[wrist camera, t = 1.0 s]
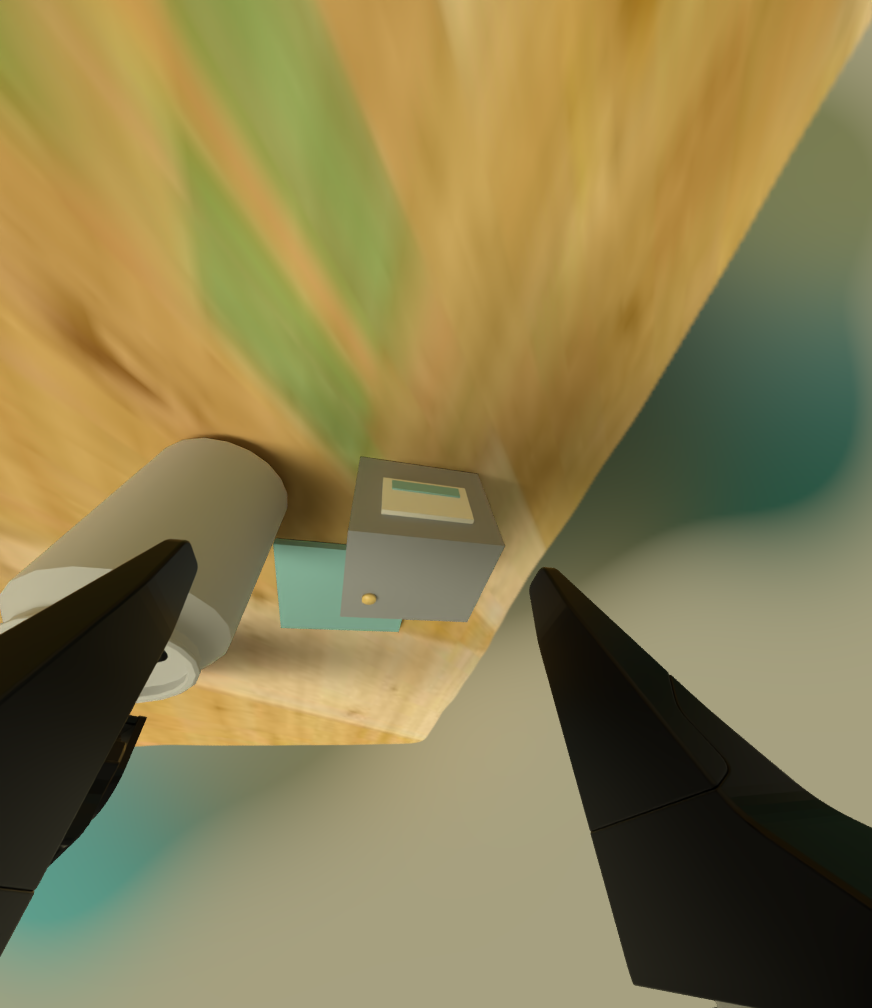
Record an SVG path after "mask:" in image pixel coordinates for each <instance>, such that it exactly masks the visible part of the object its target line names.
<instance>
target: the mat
mask: <svg viewBox="0 0 872 1008" xmlns="http://www.w3.org/2000/svg"><path fill="white" fill-rule="evenodd" d="M273 547H274V557H275V568H276V579H277V590H278V600H279V611H280V622H281V628H299V629H329V630H359V631H389V632H399V628H400V625H401V622H402V619H382V618H358V617H340V611H341V601H342V590H343V579H344V569H345V558H346V547H347V545H345V544H334V543H323V542H312V541H300V540H289V539H278V538H276V539H275V541H274V543H273Z"/></svg>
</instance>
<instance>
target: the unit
mask: <svg viewBox="0 0 872 1008" xmlns="http://www.w3.org/2000/svg"><path fill="white" fill-rule="evenodd" d="M504 547H505V545H504V542H503V539H502V537H501V534H500V531H499V529H498V526H497V523H496V521H495V518H494V515H493V513H492V510H491V507H490V505H489V502H488V500H487V497H486V494H485V492H484V489H483V486H482V484H481V481H480V478H479V476H478V474H474V473H468V472H461V471H454V470H447V469H441V468H434V467H427V466H420V465H414V464H407V463H400V462H394V461H387V460H380V459H373V458H367V457H360V462H359V468H358V474H357V480H356V486H355V492H354V498H353V504H352V510H351V516H350V522H349V528H348V537H347V547H346V558H345V569H344V579H343V590H342V601H341V611H340V617H358V618H382V619H406V620H430V621H454V622H467V621H468V619H469V617H470V615H471V613H472V611H473V609H474V607H475V605H476V603H477V601H478V599H479V597H480V595H481V593H482V591H483V589H484V587H485V585H486V583H487V581H488V579H489V577H490V575H491V573H492V571H493V569H494V567H495V565H496V563H497V561H498V559H499V557H500V555H501V553H502V551H503V549H504Z"/></svg>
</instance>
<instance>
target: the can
mask: <svg viewBox="0 0 872 1008" xmlns="http://www.w3.org/2000/svg"><path fill="white" fill-rule="evenodd" d="M287 508H288V504H287V492H286V489H285V487H284V485H283V482H282V480H281V478H280V477H279V476H278V475H277V473H276V472H275V471H274V470H273V469H272V468H271V466H270V465H269V464H268V463H267V462H265V461H264V460H262V459H261V458H259V457H258V456H257V455H255V454H254V453H252V452H251V451H249V450H247V449H244V448H242V447H240V446H237V445H235V444H232V443H230V442H227V441H221V440H215V439H209V438H197V439H187V440H182V441H179V442H177V443H175V444H173V445H171V446H169V447H166V448H165V449H164V450H163V451H162V452H160V453H159V454H158V455H157V456H156V457H155V458H153V459H152V460H151V461H150V462H149V463H147V464H146V465H145V466H144V467H143V468H142V469H140V470H139V471H138V472H137V473H136V474H135V475H133V476H132V477H131V478H130V479H129V480H128V481H126V482H125V483H124V484H123V485H122V486H121V487H119V488H118V489H117V490H116V491H115V492H114V493H112V494H111V495H110V496H109V497H108V498H107V499H105V500H104V501H103V502H102V503H101V504H100V505H98V506H97V507H96V508H95V509H94V510H93V511H91V512H90V513H89V514H88V515H87V516H86V517H84V518H83V519H82V520H81V521H80V522H78V523H77V524H76V525H75V526H74V527H73V528H71V529H70V530H69V531H68V532H67V533H66V534H64V535H63V536H62V537H61V538H60V539H59V540H57V541H56V542H55V543H54V544H53V545H52V546H50V547H49V548H48V549H47V550H46V551H45V552H43V553H42V554H41V555H40V556H39V557H38V558H36V559H35V560H34V561H33V562H32V563H31V564H29V565H28V566H27V567H26V568H25V569H24V570H22V571H21V572H20V573H19V574H18V575H16V576H15V577H14V578H13V579H12V580H11V581H9V583H8V584H7V586H6V587H5V588H4V590H3V591H2V593H1V594H0V610H1V615H2V620H3V623H1V624H0V634H2V633H3V632H5V631H7V630H9V629H10V628H12V627H14V626H16V625H17V624H19V623H21V622H22V621H24V620H26V619H28V618H29V617H31V616H33V615H35V614H36V613H38V612H40V611H42V610H43V609H45V608H47V607H49V606H50V605H52V604H54V603H56V602H57V601H59V600H61V599H63V598H64V597H66V596H68V595H70V594H71V593H73V592H75V591H77V590H78V589H80V588H82V587H84V586H85V585H87V584H89V583H91V582H92V581H94V580H96V579H97V578H99V577H101V576H103V575H104V574H106V573H108V572H110V571H111V570H113V569H115V568H117V567H118V566H120V565H122V564H124V563H125V562H127V561H129V560H131V559H132V558H134V557H136V556H138V555H139V554H141V553H143V552H145V551H146V550H148V549H150V548H152V547H153V546H155V545H157V544H159V543H160V542H162V541H164V540H166V539H181V540H188V541H189V542H190V543H191V545H192V548H193V551H194V554H195V557H196V560H197V563H198V570H197V573H196V576H195V579H194V581H193V584H192V586H191V589H190V591H189V594H188V596H187V599H186V601H185V604H184V606H183V609H182V611H181V614H180V616H179V619H178V622H177V624H176V626H175V629H174V631H173V633H172V635H171V637H170V639H169V641H168V643H167V645H166V647H165V649H164V651H163V653H162V655H161V656H160V658H159V660H158V662H157V664H156V666H155V668H154V670H153V671H152V673H151V675H150V677H149V679H148V681H147V683H146V685H145V686H144V688H143V690H142V692H141V694H140V696H139V698H138V699H137V701H136V703H141V702H149V701H156V700H163V699H166V698H169V697H172V696H175V695H178V694H181V693H183V692H184V691H186V690H187V689H189V688H190V687H192V686H193V685H195V684H196V681H197V679H198V677H199V674H200V672H201V669H203V668H205V667H207V666H208V665H210V664H212V663H213V662H215V661H216V660H218V659H219V658H220V657H222V656H223V655H225V654H226V652H227V650H228V648H229V646H230V644H231V641H232V639H233V637H234V634H235V632H236V630H237V627H238V625H239V622H240V620H241V618H242V615H243V613H244V610H245V608H246V606H247V603H248V601H249V599H250V596H251V594H252V591H253V589H254V587H255V584H256V582H257V579H258V577H259V575H260V572H261V570H262V567H263V565H264V563H265V560H266V558H267V556H268V553H269V551H270V548H271V546H272V544H273V541H274V539H275V536H276V534H277V532H278V529H279V527H280V524H281V522H282V520H283V517H284V515H285V513H286V510H287Z"/></svg>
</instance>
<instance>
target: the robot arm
mask: <svg viewBox="0 0 872 1008" xmlns="http://www.w3.org/2000/svg"><path fill="white" fill-rule="evenodd" d="M197 570H198V563H197V560H196V557H195V554H194V551H193V548H192V545H191V543H190V542H189V541H188V540H181V539H166V540H164V541H162V542H160V543H159V544H157V545H155V546H153V547H152V548H150V549H148V550H146V551H145V552H143V553H141V554H139V555H138V556H136V557H134V558H132V559H131V560H129V561H127V562H125V563H124V564H122V565H120V566H118V567H117V568H115V569H113V570H111V571H110V572H108V573H106V574H104V575H103V576H101V577H99V578H97V579H96V580H94V581H92V582H91V583H89V584H87V585H85V586H84V587H82V588H80V589H78V590H77V591H75V592H73V593H71V594H70V595H68V596H66V597H64V598H63V599H61V600H59V601H57V602H56V603H54V604H52V605H50V606H49V607H47V608H45V609H43V610H42V611H40V612H38V613H36V614H35V615H33V616H31V617H29V618H28V619H26V620H24V621H22V622H21V623H19V624H17V625H16V626H14V627H12V628H10V629H9V630H7V631H5V632H3V633H2V634H0V956H1V954H2V953H3V951H4V949H5V947H6V945H7V943H8V941H9V939H10V938H11V936H12V934H13V932H14V930H15V928H16V926H17V925H18V923H19V921H20V919H21V917H22V915H23V913H24V911H25V910H26V908H27V906H28V904H29V902H30V900H31V898H32V896H33V895H34V891H33V890H35V889H36V888H37V886H38V885H39V883H40V881H41V879H42V877H43V875H44V873H45V872H46V869H47V868H48V867H49V866H50V865H51V864H52V863H53V862H54V861H55V860H56V859H57V858H58V857H59V856H60V855H61V854H62V853H63V852H64V851H65V850H66V849H67V848H68V847H69V846H70V845H71V844H72V843H73V842H74V841H75V840H76V839H78V838H79V837H80V835H81V834H82V833H83V832H84V830H85V829H86V827H87V826H88V825H89V823H90V822H91V820H92V819H93V818H94V817H95V816H96V815H97V814H98V813H99V812H100V811H101V809H102V808H103V807H104V805H105V804H106V802H107V801H108V799H109V798H110V796H111V794H112V793H113V791H114V789H115V788H116V786H117V784H118V782H119V780H120V778H121V777H122V774H123V772H124V770H125V768H126V765H127V763H128V761H129V758H130V756H131V754H132V751H133V749H134V747H135V744H136V742H137V740H138V737H139V735H140V733H141V730H142V728H143V726H144V723H145V721H146V718H147V717H144V716H138V717H137V716H132V715H129V714H130V713H131V711H132V709H133V707H134V705H135V703H136V701H137V699H138V698H139V696H140V694H141V692H142V690H143V688H144V686H145V685H146V683H147V681H148V679H149V677H150V675H151V673H152V671H153V670H154V668H155V666H156V664H157V662H158V660H159V658H160V656H161V655H162V653H163V651H164V649H165V647H166V645H167V643H168V641H169V639H170V637H171V635H172V633H173V631H174V629H175V626H176V624H177V622H178V619H179V616H180V614H181V611H182V609H183V606H184V604H185V601H186V599H187V596H188V594H189V591H190V589H191V586H192V584H193V581H194V579H195V576H196V573H197ZM529 592H530V599H531V605H532V611H533V617H534V622H535V628H536V634H537V639H538V644H539V648H540V652H541V655H542V659H543V663H544V666H545V670H546V674H547V677H548V680H549V684H550V688H551V691H552V695H553V699H554V702H555V706H556V710H557V713H558V717H559V720H560V724H561V727H562V731H563V735H564V738H565V742H566V746H567V749H568V753H569V756H570V760H571V764H572V767H573V771H574V775H575V778H576V782H577V785H578V789H579V793H580V796H581V800H582V804H583V807H584V811H585V814H586V818H587V821H588V825H589V829H590V831H591V837H592V840H593V844H594V848H595V851H596V855H597V859H598V862H599V866H600V869H601V873H602V877H603V880H604V884H605V887H606V891H607V895H608V898H609V902H610V905H611V909H612V913H613V916H614V920H615V923H616V927H617V930H618V934H619V938H620V942H621V945H622V948H623V952H624V956H625V959H626V963H627V967H628V970H629V973H630V976H631V979H632V982H633V984H634V985H636V986H641V987H647V988H651V989H657V990H662V991H667V992H672V993H678V994H683V995H688V996H693V997H699V998H704V999H709V1000H714V1001H715V1002H716V1004H717V1007H714V1008H872V828H871V827H869V826H867V825H865V824H863V823H861V822H859V821H857V820H854V819H852V818H851V817H849V816H847V815H844V814H843V813H841V812H839V811H837V810H835V809H834V808H832V807H830V806H829V805H827V804H825V803H824V802H822V801H821V800H819V799H818V798H816V797H815V796H813V795H812V794H810V793H809V792H808V791H806V790H805V789H804V788H802V787H801V786H800V785H799V784H797V783H796V782H795V781H794V780H792V779H791V778H790V777H789V776H788V775H786V774H785V773H784V772H783V771H782V770H780V769H779V768H778V767H777V766H776V765H774V764H773V763H772V762H771V761H769V760H768V759H767V758H766V757H765V756H764V755H762V754H761V753H760V752H759V751H758V750H756V749H755V748H754V747H753V746H752V745H750V744H749V743H748V742H747V741H746V740H744V739H743V738H742V737H741V736H740V735H739V734H737V733H736V732H735V731H734V730H733V729H731V728H730V727H729V726H728V725H727V724H725V723H724V722H723V721H722V720H721V719H720V718H718V717H717V716H716V715H715V714H714V713H713V712H711V711H710V710H709V709H708V708H707V707H706V706H705V705H704V704H702V703H701V702H700V701H699V700H698V699H697V698H696V697H695V696H693V695H692V694H691V693H690V692H689V691H688V690H687V689H686V688H685V687H684V686H683V685H681V684H680V683H679V682H678V681H677V680H676V679H675V678H674V677H673V676H672V675H669V674H668V672H667V671H666V670H665V669H664V668H663V667H662V666H661V665H660V664H658V662H657V661H655V660H654V659H653V658H652V657H651V656H650V655H649V654H648V653H647V652H646V651H644V649H643V648H641V647H640V646H639V645H638V644H637V643H636V642H635V641H634V640H633V639H632V638H631V637H630V636H628V635H627V634H626V633H625V632H624V631H623V630H622V629H621V628H620V627H619V626H618V625H617V624H616V623H614V622H613V621H612V620H611V619H610V618H609V617H608V616H607V615H606V614H605V613H604V612H603V611H602V610H600V609H599V608H598V607H597V606H596V605H595V604H594V603H593V602H592V601H591V600H589V598H587V597H586V596H585V595H584V594H583V593H582V592H581V591H580V590H579V589H578V588H577V587H576V586H575V585H573V584H572V583H571V582H570V581H569V580H568V579H567V578H566V577H565V576H564V575H563V574H562V573H560V572H559V571H558V570H557V569H555V568H547V567H543V568H541V569H540V570H539V571H538V573H537V574H536V576H535V578H534V580H533V581H532V583H531V585H530V589H529Z"/></svg>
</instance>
